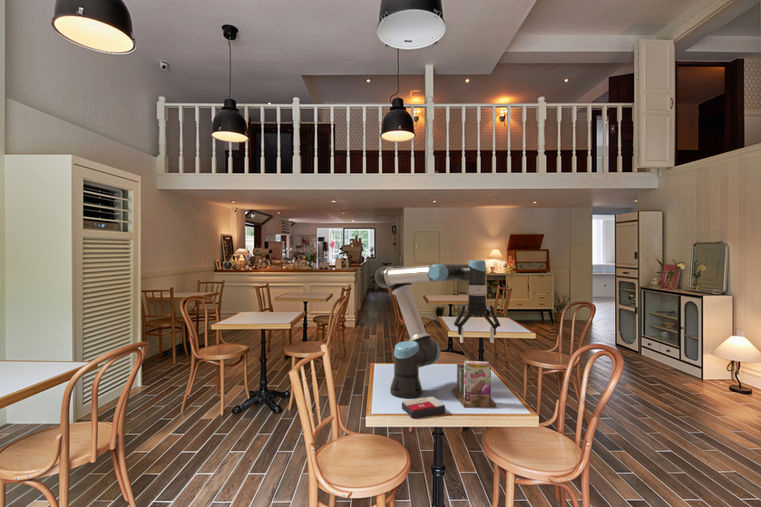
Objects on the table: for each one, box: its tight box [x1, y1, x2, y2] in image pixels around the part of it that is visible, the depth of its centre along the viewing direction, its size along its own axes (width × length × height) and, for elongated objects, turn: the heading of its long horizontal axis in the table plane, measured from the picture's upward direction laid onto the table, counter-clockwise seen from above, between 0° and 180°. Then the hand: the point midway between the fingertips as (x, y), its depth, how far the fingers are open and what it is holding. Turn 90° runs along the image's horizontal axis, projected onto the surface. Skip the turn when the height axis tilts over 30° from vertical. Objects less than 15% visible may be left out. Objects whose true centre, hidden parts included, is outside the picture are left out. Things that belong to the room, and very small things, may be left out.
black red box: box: [401, 396, 446, 419], centre depth 152 cm, size 11×4×15 cm
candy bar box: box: [463, 360, 492, 402], centre depth 162 cm, size 11×5×16 cm, turn 85°
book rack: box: [452, 362, 497, 408], centre depth 168 cm, size 14×21×14 cm, turn 2°
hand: (476, 342), depth 163 cm, fingers open, 13 cm apart
